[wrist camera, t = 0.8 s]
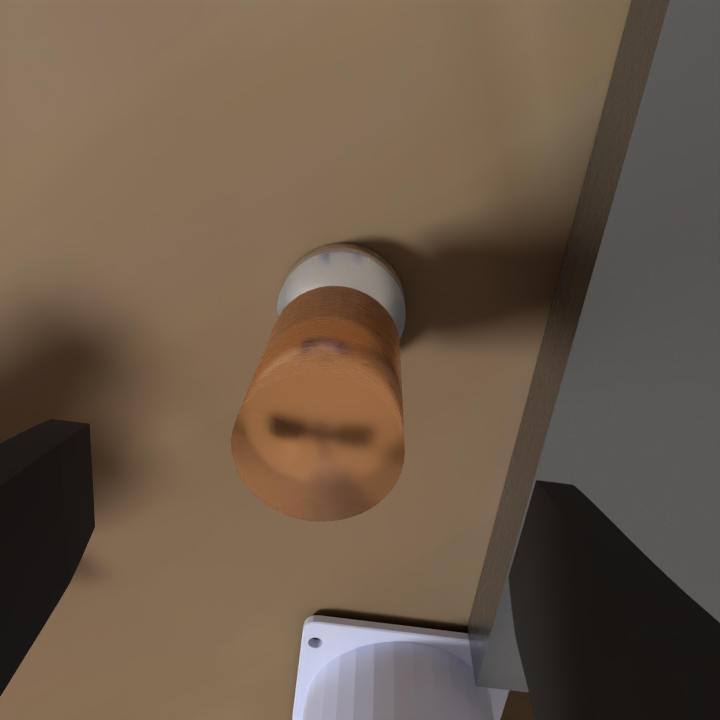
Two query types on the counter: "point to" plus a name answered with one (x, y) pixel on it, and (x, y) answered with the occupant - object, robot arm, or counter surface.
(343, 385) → the peg
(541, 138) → the counter surface
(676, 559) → the keyhole plate
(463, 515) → the counter surface
